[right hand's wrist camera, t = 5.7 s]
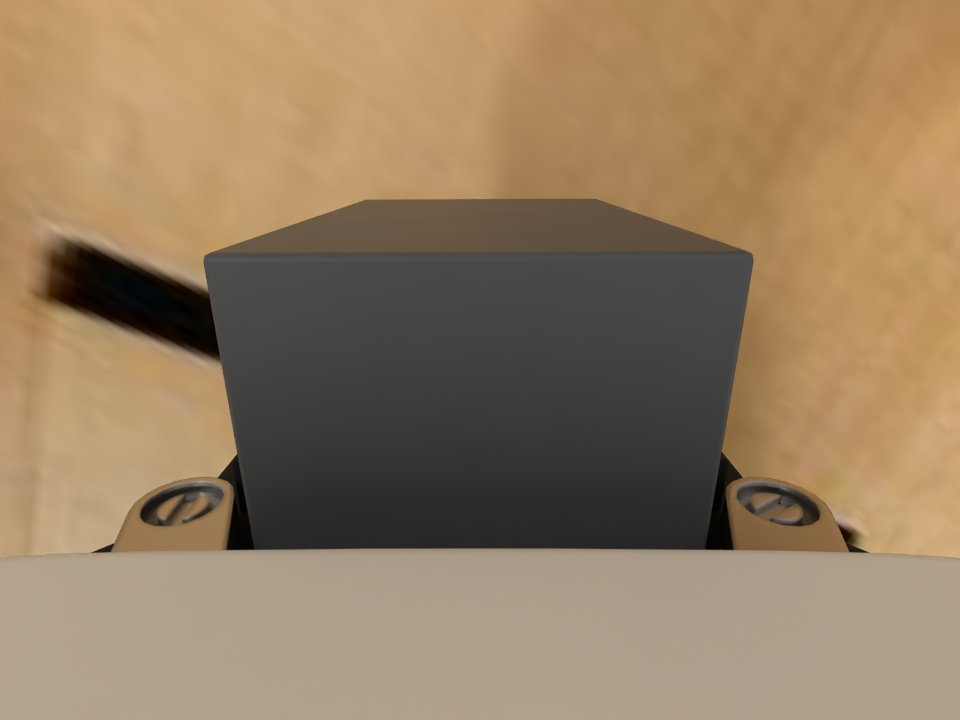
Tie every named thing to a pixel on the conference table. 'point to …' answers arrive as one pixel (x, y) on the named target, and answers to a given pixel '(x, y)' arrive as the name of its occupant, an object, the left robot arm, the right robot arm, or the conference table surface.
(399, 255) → the beam
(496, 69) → the conference table surface
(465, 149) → the conference table surface
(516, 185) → the conference table surface
